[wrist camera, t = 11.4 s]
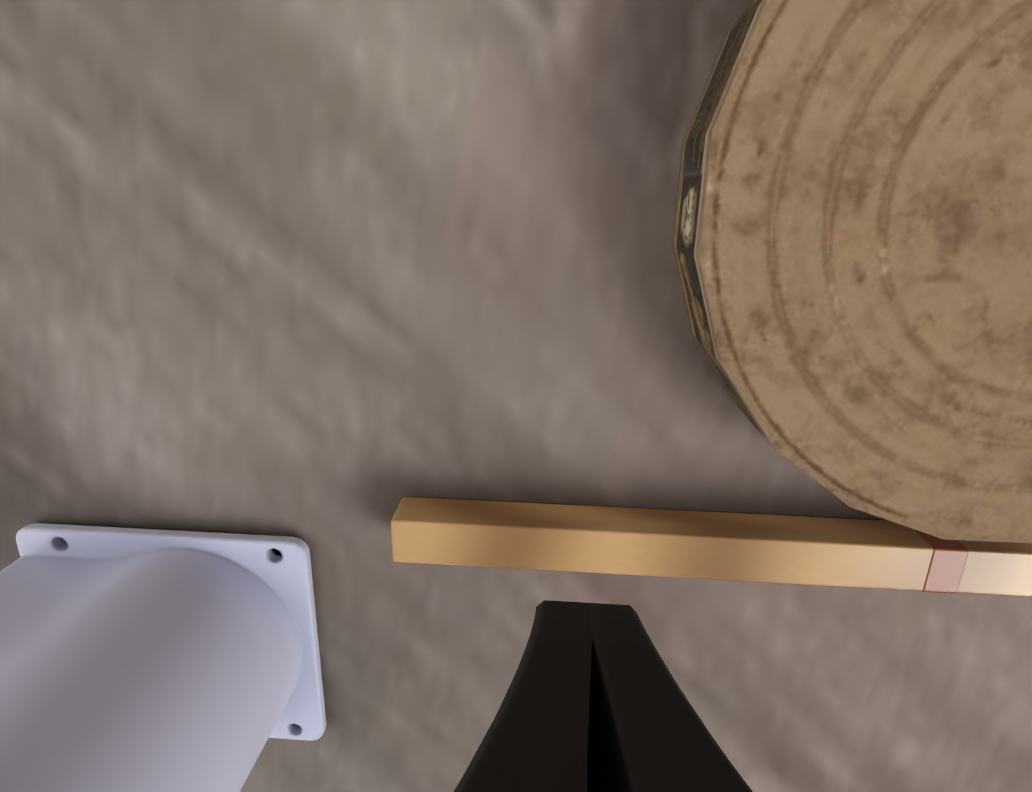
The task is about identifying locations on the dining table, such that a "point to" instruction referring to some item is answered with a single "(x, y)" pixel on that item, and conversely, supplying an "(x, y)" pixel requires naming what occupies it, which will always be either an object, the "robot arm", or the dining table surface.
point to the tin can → (873, 250)
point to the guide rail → (704, 546)
